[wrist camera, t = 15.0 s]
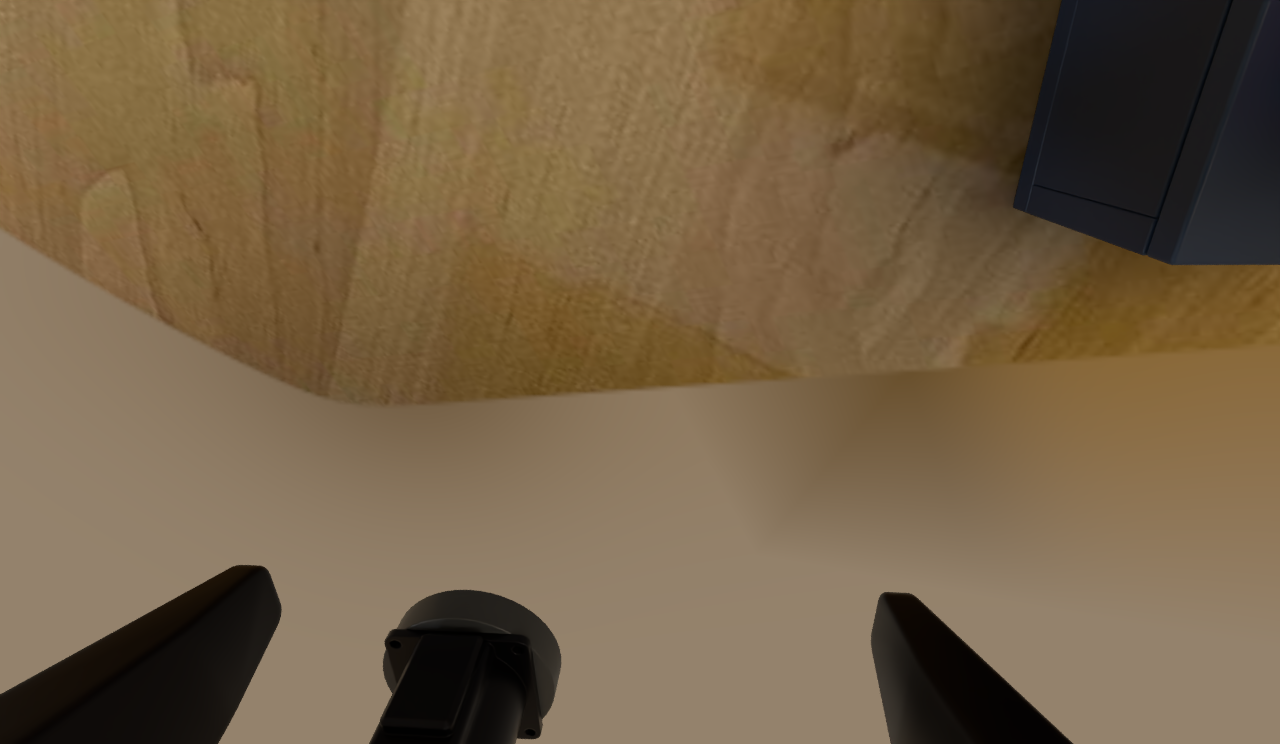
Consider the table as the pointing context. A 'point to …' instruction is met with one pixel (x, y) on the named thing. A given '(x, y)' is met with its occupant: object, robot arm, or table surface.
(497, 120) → the table surface
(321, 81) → the table surface
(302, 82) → the table surface
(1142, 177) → the dark blue square block
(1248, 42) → the lid
